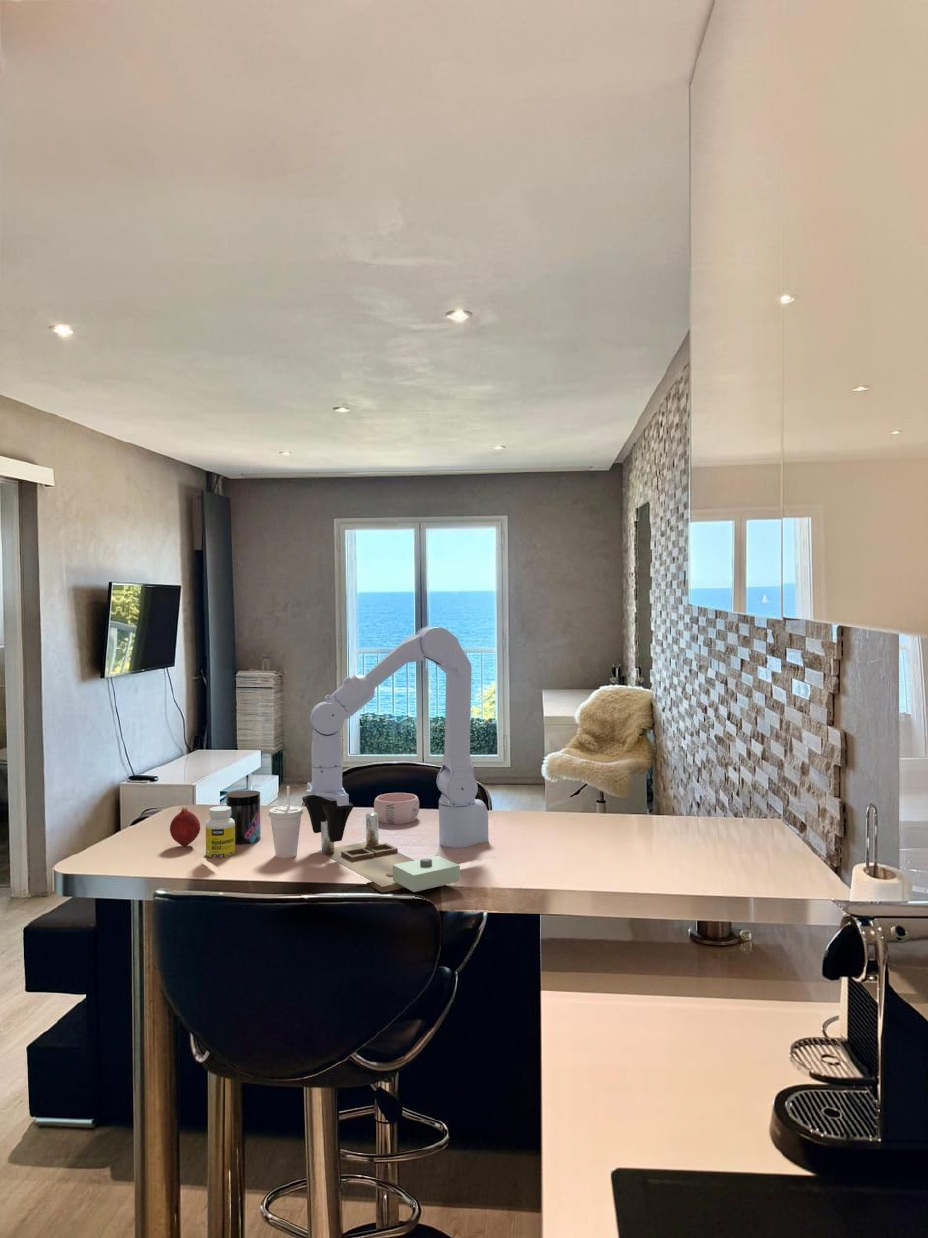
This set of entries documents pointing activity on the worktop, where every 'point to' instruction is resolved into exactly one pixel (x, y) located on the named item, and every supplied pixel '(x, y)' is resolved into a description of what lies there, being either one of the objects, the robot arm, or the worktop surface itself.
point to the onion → (185, 827)
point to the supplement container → (245, 815)
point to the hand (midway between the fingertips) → (327, 836)
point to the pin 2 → (372, 829)
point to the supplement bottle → (220, 833)
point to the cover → (426, 873)
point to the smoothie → (286, 828)
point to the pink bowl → (396, 808)
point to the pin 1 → (326, 839)
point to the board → (371, 863)
